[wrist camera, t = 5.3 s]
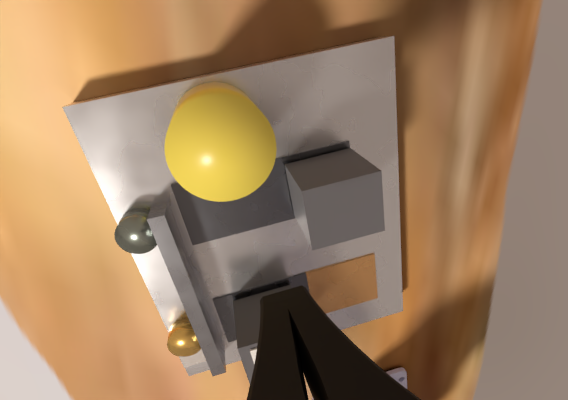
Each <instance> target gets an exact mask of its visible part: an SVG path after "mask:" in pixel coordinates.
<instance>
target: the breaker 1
mask: <svg viewBox="0 0 568 400" xmlns="http://www.w3.org/2000/svg"><path fill="white" fill-rule="evenodd" d="M287 289H291V285H287V286H283V287H280V288H276V289H273V290H269V291H266V292H262V293H259V294H255V295H252V296H248V297H245V298H241V299H238V300H234V301H233V308H234V318H235V328H236V338H237V348H238V352H239V354H240V357H241V360H242V363H243V366H244V369H245V371H246V374H247V377H248V380H249V383H250V384H251V379H252V374H253V369H254V364H255V359H256V352H257V345H258V338H259V328H260V300H261V298H262V297H263V296H266V295H270V294H273V293H277V292H280V291H284V290H287Z"/></svg>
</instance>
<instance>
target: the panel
mask: <svg viewBox="0 0 568 400" xmlns="http://www.w3.org/2000/svg"><path fill="white" fill-rule="evenodd" d="M208 82H221V83H226V84H229V85H232V86H234V87H236V88H238V89H239V90H241V91H242V92H243V93H245V94H246V95H247V96H248V97H249V98H250V100H251V101H252V102H253V103H254V104H255V105H256V106H257V107H258V109H259V110H260V111H261V112H262V113H263V114H264V115H265V117H266V118H267V119H268V121H269V123H270V124H271V127H272V129H273V131H274V134H275V139H276V148H277V151H276V159H275V163H274V166H273V169H272V171H271V173H270V175H269V176H268V178H267V179H266V181H265V182H264V183H263V184H262V185H261V186H260V187H259V188H258V189H257V190H255V191H254V192H252V193H251V194H249V195H247V196H245V197H243V198H240V199H237V200H233V201H226V202H216V201H209V200H205V199H202V198H199V197H197V196H195V195H193V194H191V193H190V192H188V191H187V190H185V189H184V188H183V187H182V186H181V185H180V184H179V183H178V182H177V181H176V180H175V178H174V177H173V175H172V174H171V172H170V170H169V168H168V165H167V162H166V157H165V148H164V146H165V138H166V133H167V130H168V127H169V124H170V121H171V118H172V116H173V113H174V110H175V107H176V105H177V103H178V102H179V100H180V99H181V97H182V96H183V95H184V94H185V93H186V92H187V91H189V90H190V89H192V88H193V87H195V86H197V85H200V84H203V83H208ZM63 109H64V112H65V114H66V116H67V118H68V120H69V122H70V124H71V126H72V129H73V131H74V133H75V135H76V137H77V139H78V141H79V143H80V146H81V148H82V150H83V152H84V154H85V156H86V158H87V160H88V163H89V165H90V167H91V169H92V171H93V173H94V175H95V177H96V180H97V182H98V184H99V186H100V188H101V190H102V192H103V194H104V197H105V199H106V201H107V203H108V205H109V207H110V209H111V211H112V214H113V216H114V218H115V220H116V222H117V224H118V226H117V228H116V230H115V240H116V242H117V244H118V245H119V246H120V247H121V248H122V249H123V250H125V251H127V252H129V253H131V254H132V256H133V258H134V260H135V262H136V265H137V267H138V269H139V271H140V273H141V275H142V277H143V279H144V282H145V284H146V286H147V288H148V290H149V292H150V294H151V296H152V299H153V301H154V303H155V305H156V307H157V309H158V311H159V313H160V316H161V318H162V320H163V322H164V324H165V326H166V328H167V330H168V333H169V336H168V344H167V346H168V349H169V351H170V352H171V353H172V354H174V355H176V356H179V358H180V360H181V362H182V364H183V366H184V368H185V369H186V371H187V373H188V375H189V376H191V375H194V374H197V373H201V372H204V371H207V370H210V371H211V373H212V375H213V376H215V375H219V374H222V373H225V372H226V365H227V364H230V363H234V362H237V361H240V360H241V357H240V354H239V352H238V348H237V338H236V328H235V318H234V308H233V301H234V300H238V299H241V298H245V297H248V296H252V295H255V294H259V293H262V292H266V291H269V290H273V289H276V288H280V287H283V286H287V285H291V288H294V287H298V286H301V285H302V286H304V287H306V289H307V290H308V292H309V293H310V295H311V296H312V297H313V299H314V300H315V301H316V303H317V304H318V305H319V307H320V308H321V309H322V310H323V311H324V312H325V314H326V315H327V316H328V317H329V318H330V319H331V320H332V322H333V323H334V324H335V325H336V326H337V327H338V328H339V329H340V330H342V329H345V328H348V327H352V326H355V325H358V324H362V323H365V322H368V321H371V320H375V319H378V318H381V317H385V316H388V315H391V314H394V313H398V312H401V311H403V296H402V264H401V232H400V201H399V169H398V137H397V106H396V74H395V42H394V36H382V37H377V38H373V39H368V40H363V41H358V42H354V43H349V44H344V45H340V46H335V47H330V48H326V49H321V50H316V51H312V52H307V53H302V54H298V55H293V56H288V57H284V58H279V59H274V60H270V61H265V62H260V63H256V64H251V65H246V66H242V67H237V68H232V69H228V70H223V71H218V72H214V73H209V74H204V75H200V76H195V77H190V78H185V79H181V80H176V81H171V82H167V83H162V84H157V85H153V86H148V87H143V88H139V89H134V90H129V91H125V92H120V93H115V94H111V95H106V96H101V97H97V98H92V99H87V100H83V101H78V102H73V103H71V104H68V105H66V106H64V107H63ZM348 148H351V149H353V150H354V151H355V152H357V153H358V154H359V155H361V156H362V157H363V158H365V159H366V160H368V161H369V162H370V163H372V164H373V165H374V166H376V167H377V168H378V169H380V170H381V171H382V187H383V205H384V223H385V231H382V232H378V233H374V234H371V235H367V236H364V237H360V238H356V239H353V240H349V241H346V242H342V243H338V244H335V245H331V246H328V247H324V248H320V249H317V250H313V251H312V249H311V247H310V245H309V243H308V241H307V239H306V237H305V235H304V233H303V231H302V229H301V228H300V226H299V224H298V222H297V220H296V218H295V216H294V211H293V205H292V200H291V195H290V190H289V185H288V180H287V174H286V169H285V164H287V163H292V162H296V161H300V160H304V159H308V158H312V157H316V156H320V155H324V154H328V153H332V152H336V151H340V150H344V149H348Z"/></svg>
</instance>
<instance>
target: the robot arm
mask: <svg viewBox="0 0 568 400" xmlns="http://www.w3.org/2000/svg"><path fill="white" fill-rule="evenodd" d="M303 373H304V374H303ZM304 375H305V378H306V380H307V383H308V386H309V388H310V391H311V393H312V396H313V398H312V400H421V399H419V398H418V397H417V396H415V395H414V394H413V393H411V392H410V391H409V390H407V372H406V370H405V369H404V368H402V367H400V368H396V369H393V370H390V371H387V372H385V371H384V370H382V369H381V368H380V367H379V366H378V365H377V364H376V363H374V362H373V361H372V360H371V359H370V358H369V357H368V356H367V355H366V354H364V353H363V352H362V351H361V350H360V349H359V348H358V347H357V346H356V345H355V344H354V343H353V342H352V341H351V340H350V339H349V338H348V337H347V336H346V335H345V334H344V333H343V332H342V331H341V330H340V329H339V328H338V327H337V326H336V325H335V324H334V323H333V322H332V320H331V319H330V318H329V317H328V316H327V315H326V314H325V312H324V311H323V310H322V309H321V308H320V307H319V305H318V304H317V303H316V301H315V300H314V299H313V297H312V296H311V295H310V293H309V292H308V290H307V289H306V287H304V286H302V285H301V286H298V287H294V288H291V289H287V290H284V291H280V292H277V293H273V294H270V295H266V296H263V297H262V298H261V300H260V328H259V338H258V345H257V352H256V359H255V364H254V369H253V374H252V379H251V384H250V388H249V393H248V397H247V400H308V395H307V390H306V385H305V380H304Z"/></svg>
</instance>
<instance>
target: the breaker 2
mask: <svg viewBox="0 0 568 400" xmlns="http://www.w3.org/2000/svg"><path fill="white" fill-rule="evenodd" d="M285 169H286V174H287V180H288V185H289V190H290V195H291V200H292V205H293V211H294V216H295V218H296V220H297V222H298V224H299V226H300V228H301V229H302V231H303V233H304V235H305V237H306V239H307V241H308V243H309V245H310V247H311V249H312V251H313V250H317V249H320V248H324V247H328V246H331V245H335V244H338V243H342V242H346V241H349V240H353V239H356V238H360V237H364V236H367V235H371V234H374V233H378V232H382V231H385V223H384V205H383V187H382V171H381V170H380V169H378V168H377V167H376V166H374V165H373V164H372V163H370V162H369V161H368V160H366V159H365V158H363V157H362V156H361V155H359V154H358V153H357V152H355V151H354V150H353V149H351V148H348V149H344V150H340V151H336V152H332V153H328V154H324V155H320V156H316V157H312V158H308V159H304V160H300V161H296V162H292V163H287V164H285Z"/></svg>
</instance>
